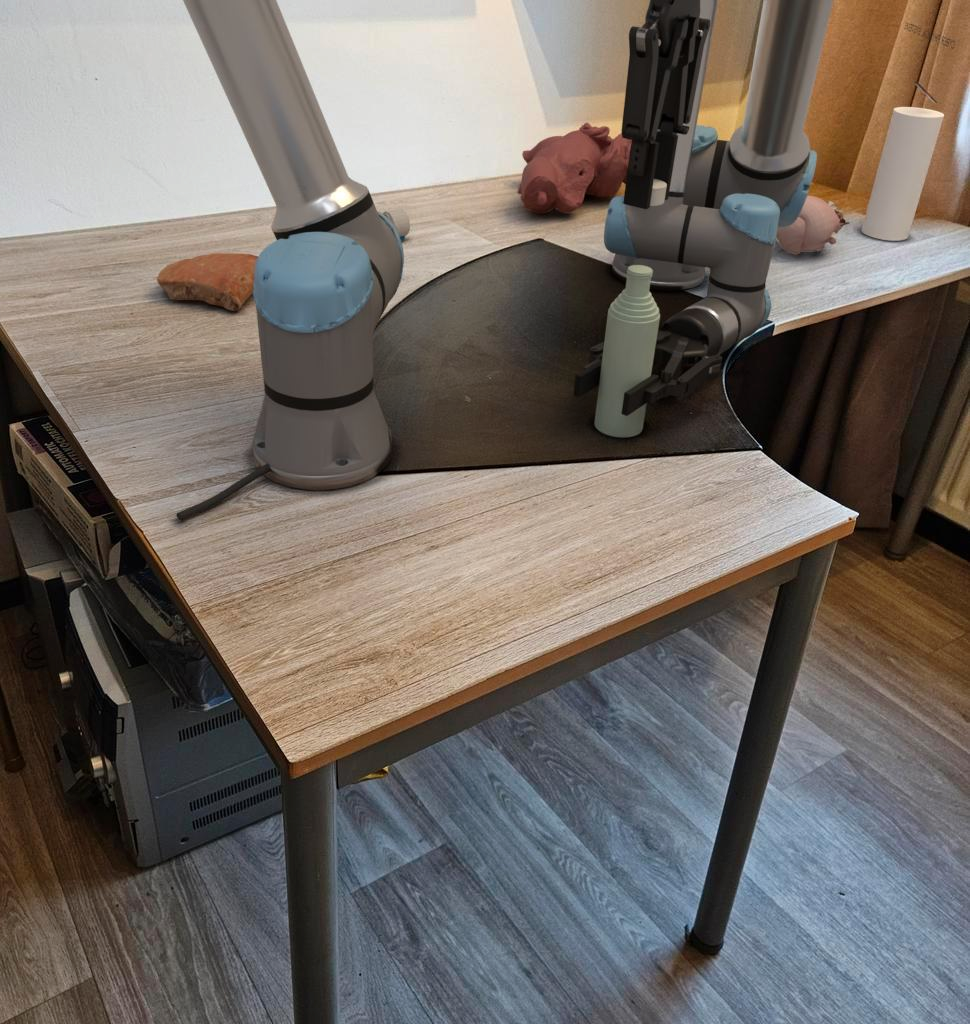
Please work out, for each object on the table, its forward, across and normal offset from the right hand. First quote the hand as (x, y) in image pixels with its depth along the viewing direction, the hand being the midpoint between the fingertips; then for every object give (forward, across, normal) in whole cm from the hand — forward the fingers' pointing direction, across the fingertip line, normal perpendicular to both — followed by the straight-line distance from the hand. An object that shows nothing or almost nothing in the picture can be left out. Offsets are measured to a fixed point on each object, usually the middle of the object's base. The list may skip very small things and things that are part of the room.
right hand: (601, 395), depth 110 cm
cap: (-5, 0, +23) cm, 23 cm away
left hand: (-5, 0, +21) cm, 22 cm away
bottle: (-5, 0, -6) cm, 8 cm away
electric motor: (-35, +66, -6) cm, 75 cm away
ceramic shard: (+1, +68, -6) cm, 69 cm away
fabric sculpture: (-77, +55, -6) cm, 95 cm away
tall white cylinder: (-106, +3, -6) cm, 106 cm away
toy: (-84, +10, -6) cm, 85 cm away
